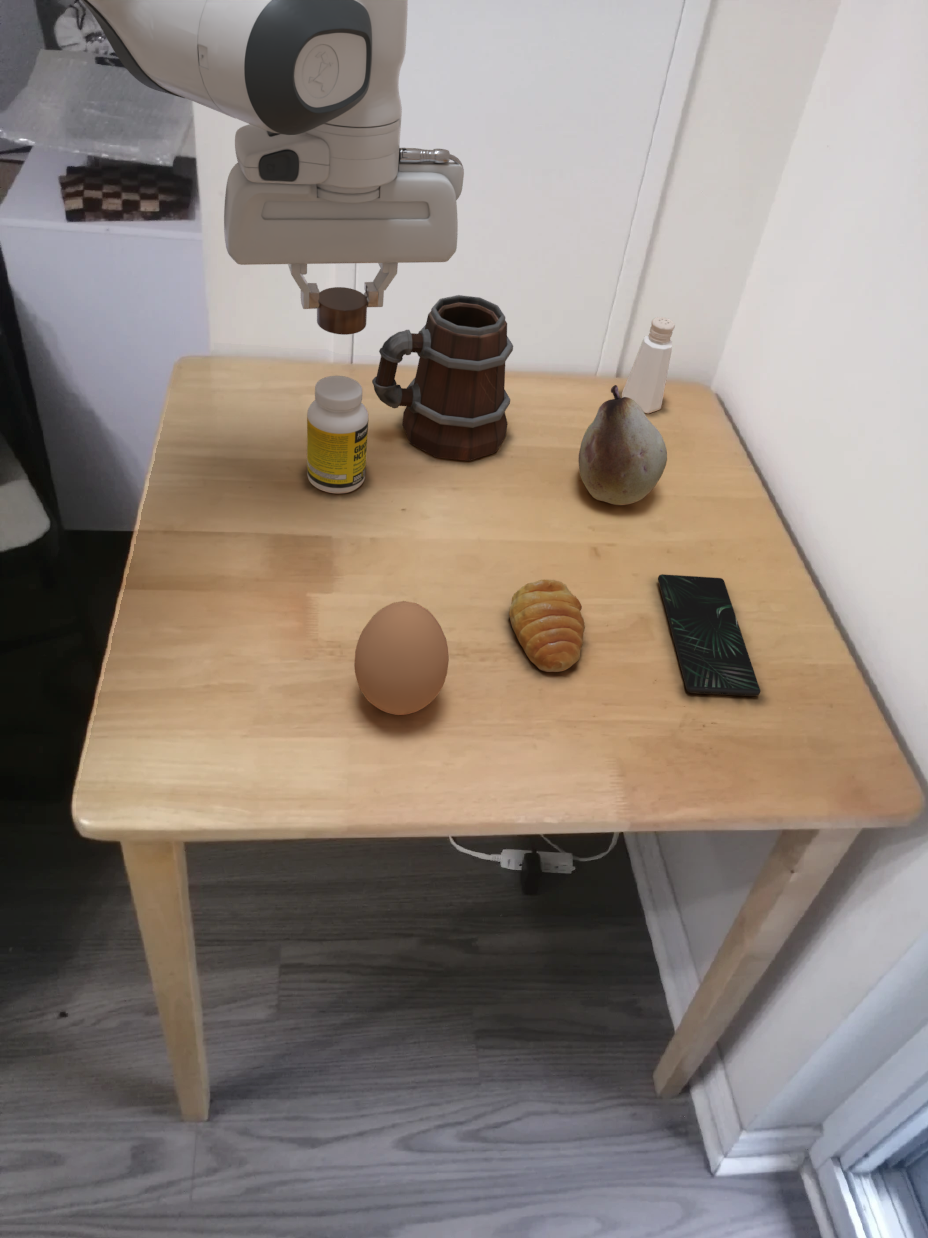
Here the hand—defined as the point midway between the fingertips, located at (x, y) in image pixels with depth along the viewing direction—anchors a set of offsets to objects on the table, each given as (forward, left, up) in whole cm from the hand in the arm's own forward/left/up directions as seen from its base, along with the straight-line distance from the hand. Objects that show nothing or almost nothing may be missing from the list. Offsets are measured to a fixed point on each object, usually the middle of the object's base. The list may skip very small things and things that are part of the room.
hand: (341, 305), depth 87 cm
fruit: (+30, -6, -20) cm, 36 cm away
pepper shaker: (+41, +11, -20) cm, 47 cm away
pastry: (+15, -26, -20) cm, 36 cm away
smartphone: (+30, -29, -20) cm, 46 cm away
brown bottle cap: (0, 0, -2) cm, 2 cm away
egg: (-1, -31, -20) cm, 37 cm away
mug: (+13, +7, -20) cm, 25 cm away
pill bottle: (0, 0, -20) cm, 20 cm away
